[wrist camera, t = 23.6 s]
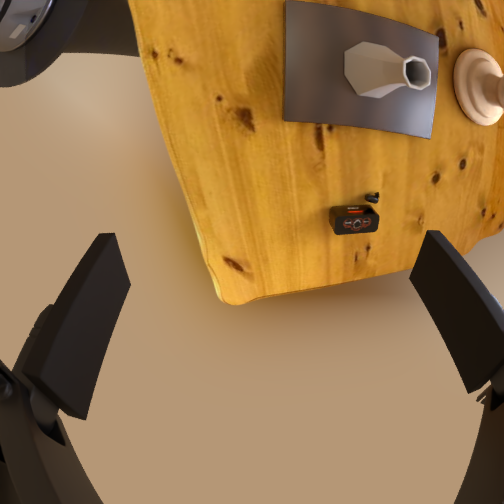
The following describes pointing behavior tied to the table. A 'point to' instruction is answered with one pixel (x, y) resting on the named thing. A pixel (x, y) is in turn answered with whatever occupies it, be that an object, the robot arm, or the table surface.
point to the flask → (383, 70)
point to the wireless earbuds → (355, 217)
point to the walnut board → (333, 62)
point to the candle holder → (479, 86)
